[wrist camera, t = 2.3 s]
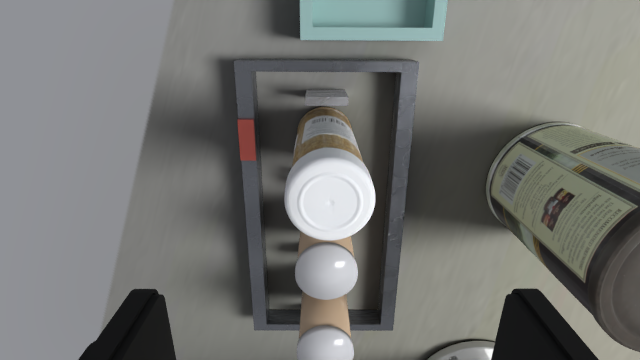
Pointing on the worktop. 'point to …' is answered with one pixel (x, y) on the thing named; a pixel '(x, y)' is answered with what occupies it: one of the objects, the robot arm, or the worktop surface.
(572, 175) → the coffee can
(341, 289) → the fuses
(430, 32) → the tray
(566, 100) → the worktop surface
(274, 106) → the worktop surface
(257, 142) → the frame
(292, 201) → the sprinkles bottle
